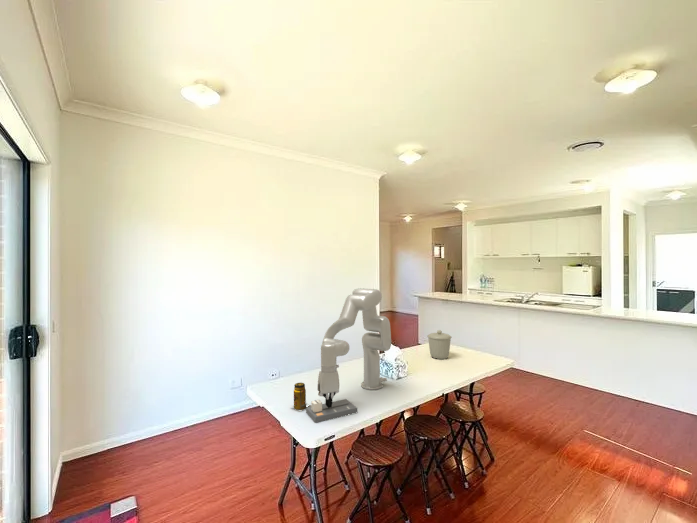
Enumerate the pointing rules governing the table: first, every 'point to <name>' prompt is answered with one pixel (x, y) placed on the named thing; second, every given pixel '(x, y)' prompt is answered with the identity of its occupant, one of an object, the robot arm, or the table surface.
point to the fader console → (332, 411)
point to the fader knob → (316, 406)
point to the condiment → (300, 396)
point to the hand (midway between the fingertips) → (328, 406)
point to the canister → (439, 344)
